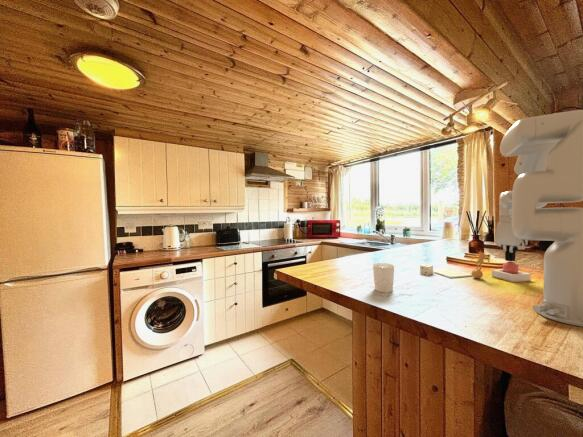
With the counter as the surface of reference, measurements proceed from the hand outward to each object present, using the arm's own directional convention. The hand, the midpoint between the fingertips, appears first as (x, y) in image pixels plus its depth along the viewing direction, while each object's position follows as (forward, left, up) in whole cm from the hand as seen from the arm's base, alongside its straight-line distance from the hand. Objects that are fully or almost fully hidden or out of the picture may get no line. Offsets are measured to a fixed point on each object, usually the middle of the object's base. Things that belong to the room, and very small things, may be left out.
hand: (510, 260), depth 104 cm
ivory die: (-28, +17, -8) cm, 34 cm away
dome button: (0, 0, -5) cm, 5 cm away
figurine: (-12, +4, -8) cm, 15 cm away
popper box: (0, 0, -8) cm, 8 cm away
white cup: (-61, +1, -8) cm, 62 cm away
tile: (-18, +13, -8) cm, 24 cm away
